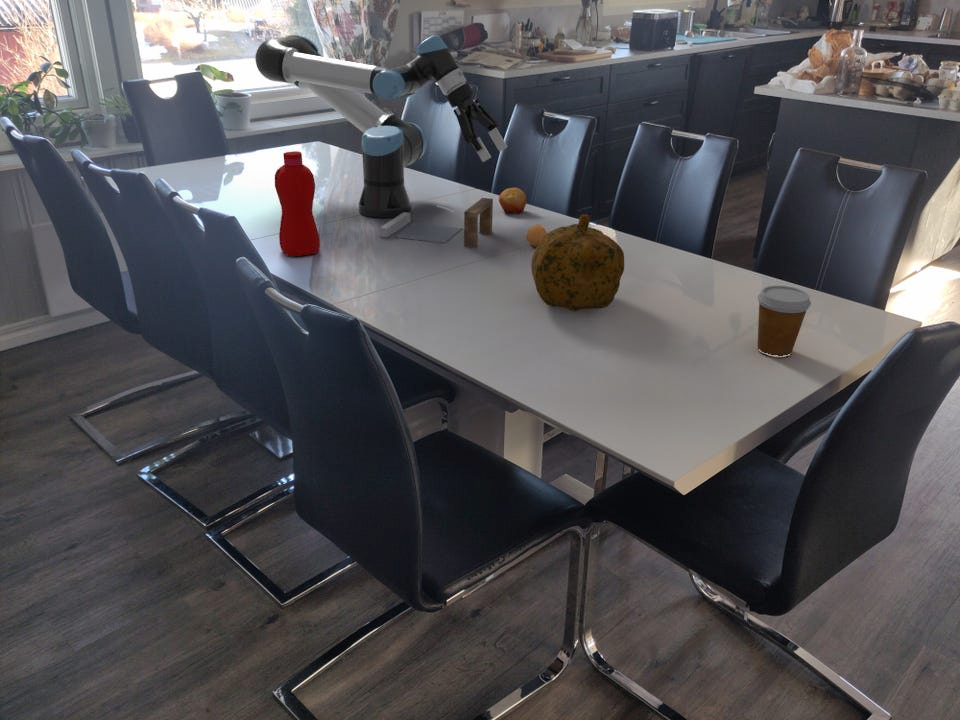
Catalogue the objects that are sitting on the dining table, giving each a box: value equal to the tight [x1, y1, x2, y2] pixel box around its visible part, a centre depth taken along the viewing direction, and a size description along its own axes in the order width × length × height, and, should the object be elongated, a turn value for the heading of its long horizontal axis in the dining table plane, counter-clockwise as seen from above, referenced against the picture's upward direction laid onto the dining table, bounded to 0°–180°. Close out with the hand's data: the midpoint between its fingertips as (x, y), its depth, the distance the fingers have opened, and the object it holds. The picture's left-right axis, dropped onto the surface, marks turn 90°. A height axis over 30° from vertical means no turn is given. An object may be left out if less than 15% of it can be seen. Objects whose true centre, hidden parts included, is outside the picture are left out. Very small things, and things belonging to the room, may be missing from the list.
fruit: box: [498, 187, 527, 214], centre depth 244 cm, size 8×8×8 cm
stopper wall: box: [379, 212, 411, 238], centre depth 227 cm, size 2×16×2 cm, turn 161°
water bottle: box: [274, 150, 321, 257], centre depth 204 cm, size 9×11×25 cm
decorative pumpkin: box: [530, 214, 625, 312], centre depth 178 cm, size 20×21×20 cm
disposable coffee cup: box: [757, 285, 812, 356], centre depth 158 cm, size 10×10×12 cm
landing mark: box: [395, 222, 464, 244], centre depth 225 cm, size 14×14×1 cm
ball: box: [525, 224, 548, 247], centre depth 216 cm, size 6×6×6 cm
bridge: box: [463, 197, 494, 248], centre depth 219 cm, size 3×14×9 cm, turn 161°
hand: (495, 154), depth 239 cm, fingers open, 13 cm apart
